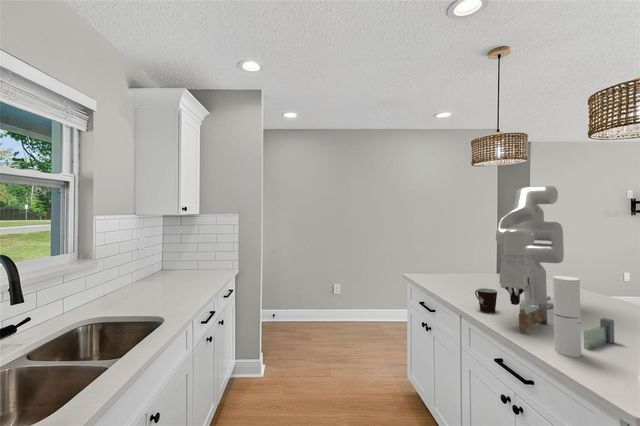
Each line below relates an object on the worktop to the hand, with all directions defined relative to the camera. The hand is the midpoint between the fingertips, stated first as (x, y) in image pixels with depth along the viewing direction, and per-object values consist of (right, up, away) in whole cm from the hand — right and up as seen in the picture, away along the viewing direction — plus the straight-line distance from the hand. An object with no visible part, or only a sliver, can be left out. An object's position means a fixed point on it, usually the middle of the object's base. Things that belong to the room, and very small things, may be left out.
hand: (515, 304), depth 132 cm
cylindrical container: (+3, -10, -24) cm, 26 cm away
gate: (+6, -9, -2) cm, 11 cm away
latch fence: (+18, -9, -18) cm, 28 cm away
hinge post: (+13, -10, +8) cm, 18 cm away
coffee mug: (+1, -10, +25) cm, 27 cm away
